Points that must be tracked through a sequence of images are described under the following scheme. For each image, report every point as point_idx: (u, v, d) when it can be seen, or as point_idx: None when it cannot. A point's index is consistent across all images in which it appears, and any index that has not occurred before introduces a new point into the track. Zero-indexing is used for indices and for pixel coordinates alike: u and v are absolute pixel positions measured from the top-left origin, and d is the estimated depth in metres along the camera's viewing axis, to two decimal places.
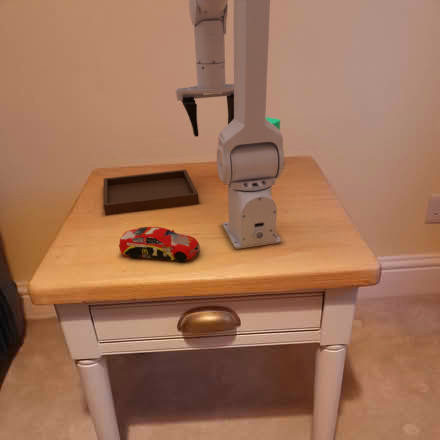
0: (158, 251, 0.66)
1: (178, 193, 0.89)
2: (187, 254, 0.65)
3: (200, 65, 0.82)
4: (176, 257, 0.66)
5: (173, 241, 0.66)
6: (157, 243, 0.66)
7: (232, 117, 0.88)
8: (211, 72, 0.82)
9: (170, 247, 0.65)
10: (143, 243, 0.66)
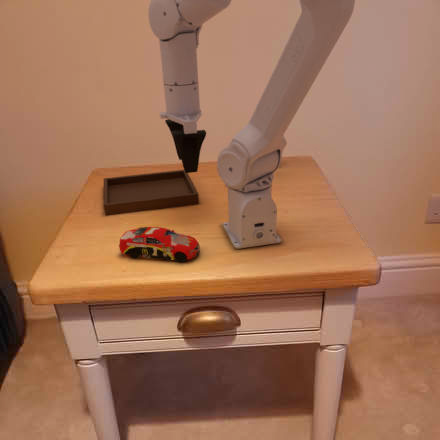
0: (158, 251, 0.66)
1: (178, 193, 0.89)
2: (187, 254, 0.65)
3: (193, 86, 0.68)
4: (176, 257, 0.66)
5: (173, 241, 0.66)
6: (157, 243, 0.66)
7: None
8: (198, 91, 0.70)
9: (170, 247, 0.65)
10: (143, 243, 0.66)
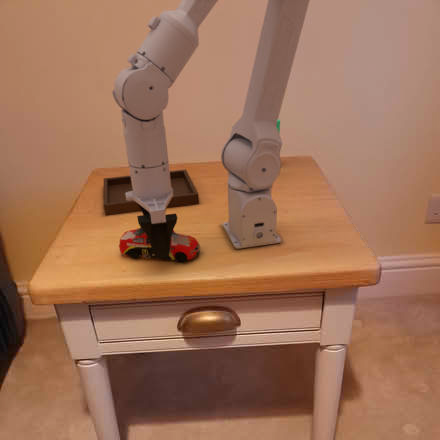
0: None
1: (178, 193, 0.89)
2: (187, 254, 0.65)
3: (161, 167, 0.59)
4: (176, 257, 0.66)
5: (173, 241, 0.66)
6: None
7: None
8: (169, 170, 0.62)
9: (170, 247, 0.65)
10: (143, 243, 0.66)
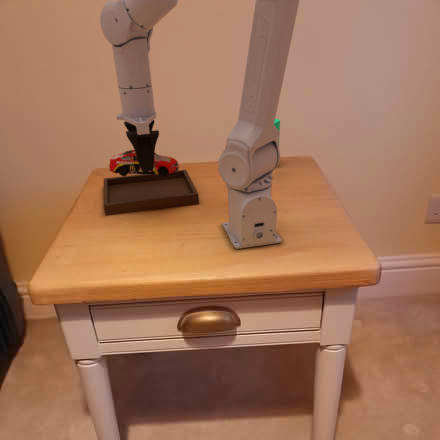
0: None
1: (178, 193, 0.89)
2: (169, 168, 0.78)
3: (146, 89, 0.71)
4: (159, 171, 0.78)
5: (156, 158, 0.79)
6: None
7: None
8: (152, 94, 0.74)
9: (154, 162, 0.78)
10: (131, 160, 0.78)
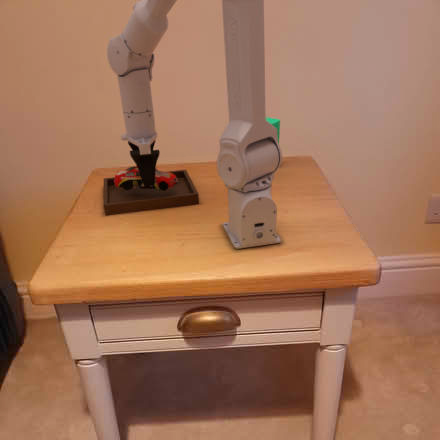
0: None
1: (178, 193, 0.89)
2: (168, 183, 0.86)
3: (147, 113, 0.79)
4: (160, 186, 0.86)
5: (157, 174, 0.86)
6: None
7: None
8: (153, 117, 0.81)
9: (155, 178, 0.86)
10: (134, 176, 0.86)
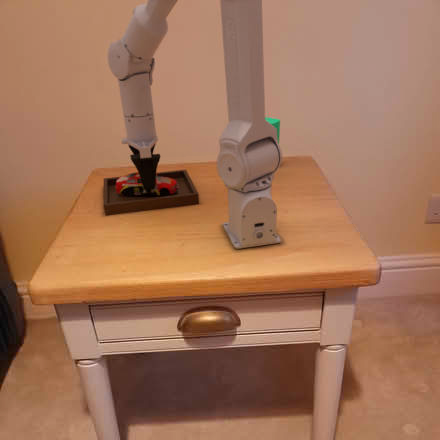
0: None
1: (178, 193, 0.89)
2: (170, 189, 0.87)
3: (148, 117, 0.79)
4: (161, 192, 0.87)
5: (158, 180, 0.87)
6: None
7: None
8: (154, 121, 0.82)
9: (156, 185, 0.86)
10: (135, 183, 0.87)
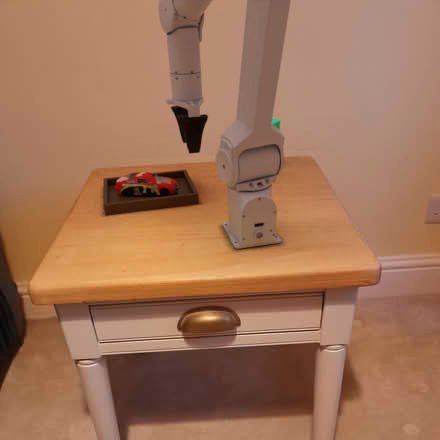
0: (147, 189, 0.87)
1: (178, 193, 0.89)
2: (170, 189, 0.87)
3: (196, 74, 0.76)
4: (161, 192, 0.87)
5: (158, 181, 0.87)
6: (146, 182, 0.86)
7: None
8: None
9: (156, 185, 0.86)
10: (135, 183, 0.87)
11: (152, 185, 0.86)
